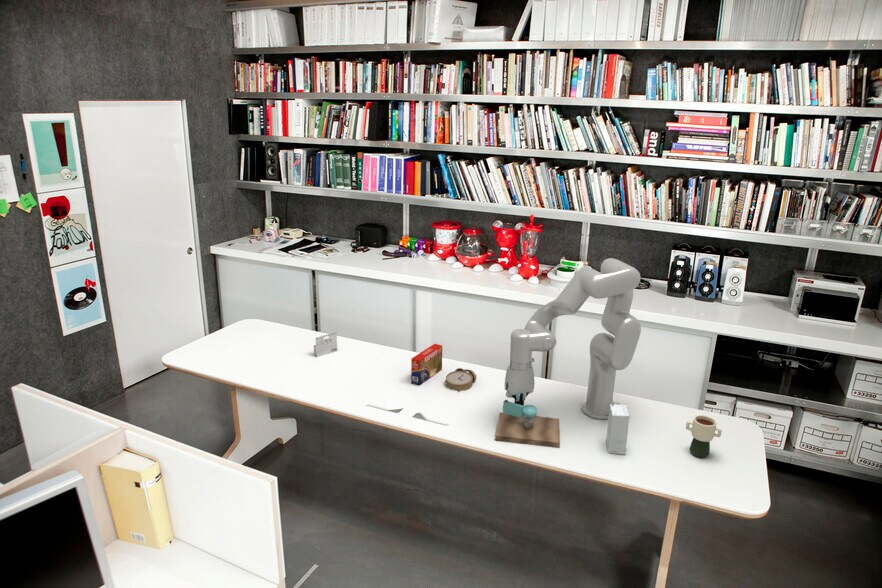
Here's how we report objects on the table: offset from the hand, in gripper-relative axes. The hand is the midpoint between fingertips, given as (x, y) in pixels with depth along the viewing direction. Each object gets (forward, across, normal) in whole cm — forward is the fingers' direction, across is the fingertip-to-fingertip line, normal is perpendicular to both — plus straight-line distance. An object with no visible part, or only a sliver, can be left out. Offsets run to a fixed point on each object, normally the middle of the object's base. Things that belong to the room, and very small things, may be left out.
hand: (519, 408), depth 216 cm
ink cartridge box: (+5, +56, -83) cm, 100 cm away
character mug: (+8, -50, +37) cm, 62 cm away
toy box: (+6, +20, -46) cm, 51 cm away
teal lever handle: (+1, +1, +3) cm, 4 cm away
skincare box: (+7, -25, +24) cm, 35 cm away
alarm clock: (+6, +8, -36) cm, 38 cm away
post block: (+6, -1, +6) cm, 9 cm away
